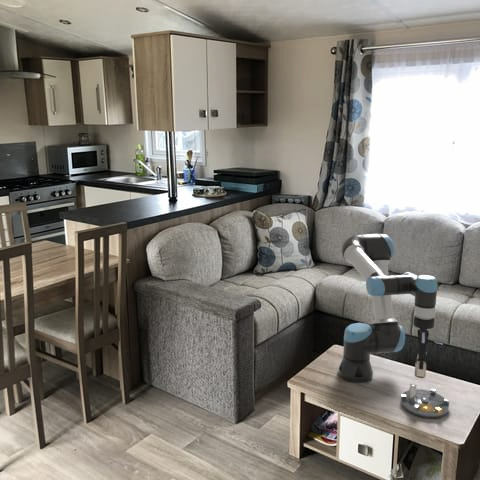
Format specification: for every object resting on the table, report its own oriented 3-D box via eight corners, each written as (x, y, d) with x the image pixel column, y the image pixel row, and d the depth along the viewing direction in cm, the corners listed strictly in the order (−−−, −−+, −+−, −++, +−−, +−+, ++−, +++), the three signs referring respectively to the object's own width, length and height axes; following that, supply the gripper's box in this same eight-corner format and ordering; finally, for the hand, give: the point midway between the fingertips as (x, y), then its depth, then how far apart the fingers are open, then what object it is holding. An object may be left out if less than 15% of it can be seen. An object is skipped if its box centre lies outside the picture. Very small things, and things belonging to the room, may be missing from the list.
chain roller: (412, 375, 196) (413, 363, 195) (417, 372, 198) (418, 360, 197) (422, 379, 193) (422, 367, 192) (427, 375, 195) (428, 364, 194)
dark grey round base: (419, 422, 192) (421, 398, 189) (391, 397, 209) (393, 375, 206) (458, 414, 197) (461, 391, 194) (428, 390, 214) (430, 369, 211)
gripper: (413, 308, 200) (410, 362, 204) (413, 322, 184) (409, 381, 189) (434, 309, 197) (430, 365, 202) (435, 325, 182) (431, 384, 186)
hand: (420, 373), depth 195 cm, fingers closed on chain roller, 4 cm apart
